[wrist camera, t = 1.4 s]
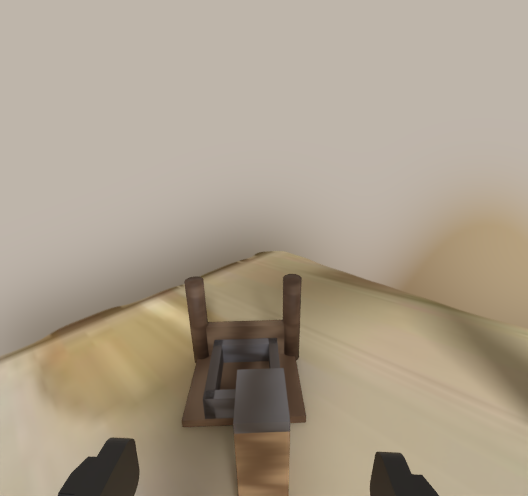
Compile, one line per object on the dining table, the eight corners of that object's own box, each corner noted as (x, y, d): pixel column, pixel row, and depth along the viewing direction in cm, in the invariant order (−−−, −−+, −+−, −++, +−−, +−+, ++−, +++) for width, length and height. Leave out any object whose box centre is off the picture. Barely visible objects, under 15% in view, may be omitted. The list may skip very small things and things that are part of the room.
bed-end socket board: (297, 349, 44) (299, 273, 40) (311, 422, 33) (317, 328, 28) (196, 352, 44) (186, 276, 39) (176, 427, 33) (159, 332, 28)
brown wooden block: (282, 460, 29) (283, 367, 25) (287, 521, 25) (290, 421, 20) (243, 461, 29) (237, 369, 25) (240, 523, 25) (233, 423, 20)
